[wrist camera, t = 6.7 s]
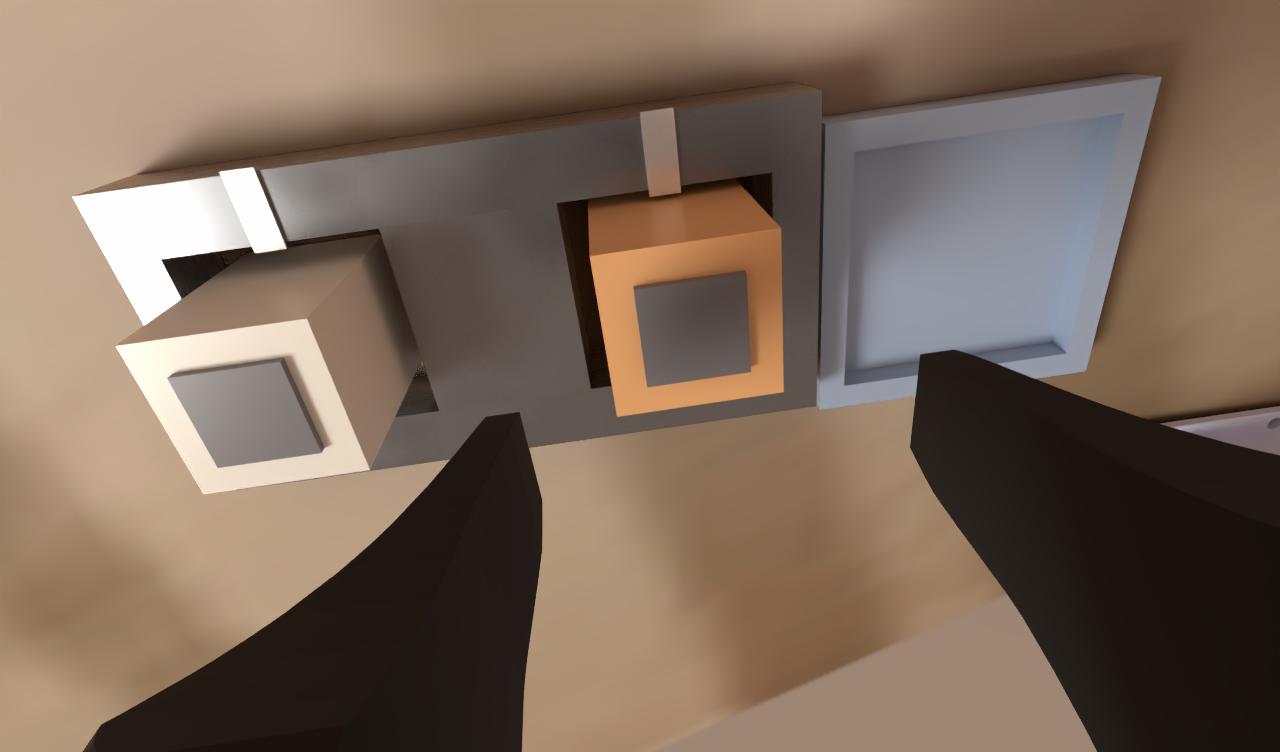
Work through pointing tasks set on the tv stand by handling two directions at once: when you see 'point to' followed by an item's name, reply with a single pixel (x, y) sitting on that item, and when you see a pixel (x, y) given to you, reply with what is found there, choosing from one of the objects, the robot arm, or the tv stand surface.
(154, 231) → the grey rectangular holder
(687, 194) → the plug
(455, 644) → the robot arm
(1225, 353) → the tv stand surface
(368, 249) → the beige box
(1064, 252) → the tray
